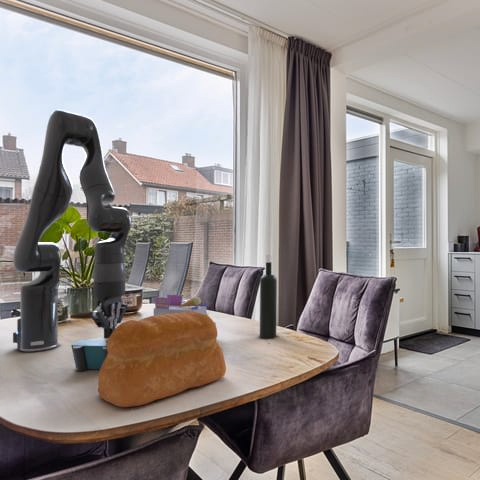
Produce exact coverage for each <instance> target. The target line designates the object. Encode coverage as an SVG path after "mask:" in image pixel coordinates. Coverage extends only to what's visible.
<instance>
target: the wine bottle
mask: <svg viewBox="0 0 480 480" xmlns="http://www.w3.org/2000/svg"><path fill="white" fill-rule="evenodd" d="M272 263H273V253H272V252H265V274H263V275H262V276H260V279H259V282H260V283H259V338H260V339H265V340H268V339H275V338H276V337H277V306H278V305H277V302H278V301H277V297H278V287H277V286H278V278H277V277H276V276H275V275H274V274H272V266H273V265H272Z"/></svg>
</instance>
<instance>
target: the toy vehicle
mask: <svg viewBox="0 0 480 480" xmlns="http://www.w3.org/2000/svg"><path fill="white" fill-rule="evenodd" d="M182 299H183V295H182V294H180V295H179V294H167V295H166V297H161V296H160V297H156V296H155V297H154V308H153V316H157V315H162V314H173V313H182V312H185V311H193V312H198V313H202V314H205V315H207V316H208V312H207V306H208V303H202V304H201V302H202V300H201V299H202V298H200V297H199V296H194V297H192V298H190V299H188V300H189V301H187V302H185V303H184V304H182ZM213 322H214V323H215V325H216V326H217V323H216V322H215V321H213Z"/></svg>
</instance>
